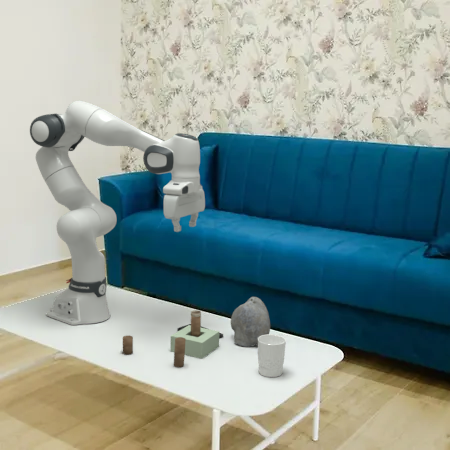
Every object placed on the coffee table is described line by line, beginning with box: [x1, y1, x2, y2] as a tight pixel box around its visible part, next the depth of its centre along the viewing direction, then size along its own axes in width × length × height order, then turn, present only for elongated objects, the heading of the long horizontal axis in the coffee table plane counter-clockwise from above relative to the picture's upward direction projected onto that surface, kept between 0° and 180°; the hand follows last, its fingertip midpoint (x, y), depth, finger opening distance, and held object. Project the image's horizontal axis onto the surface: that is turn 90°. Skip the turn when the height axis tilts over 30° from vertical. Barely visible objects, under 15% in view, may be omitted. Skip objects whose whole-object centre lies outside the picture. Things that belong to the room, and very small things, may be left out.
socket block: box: [170, 324, 220, 359], centre depth 193 cm, size 11×11×5 cm
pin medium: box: [173, 337, 186, 368], centre depth 181 cm, size 3×3×8 cm
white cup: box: [257, 333, 287, 378], centre depth 177 cm, size 8×8×10 cm
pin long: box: [190, 309, 202, 337], centre depth 193 cm, size 3×3×12 cm
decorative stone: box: [230, 296, 271, 348], centre depth 199 cm, size 15×10×15 cm
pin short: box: [122, 335, 134, 356], centre depth 189 cm, size 3×3×5 cm
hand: (185, 228), depth 200 cm, fingers open, 8 cm apart
